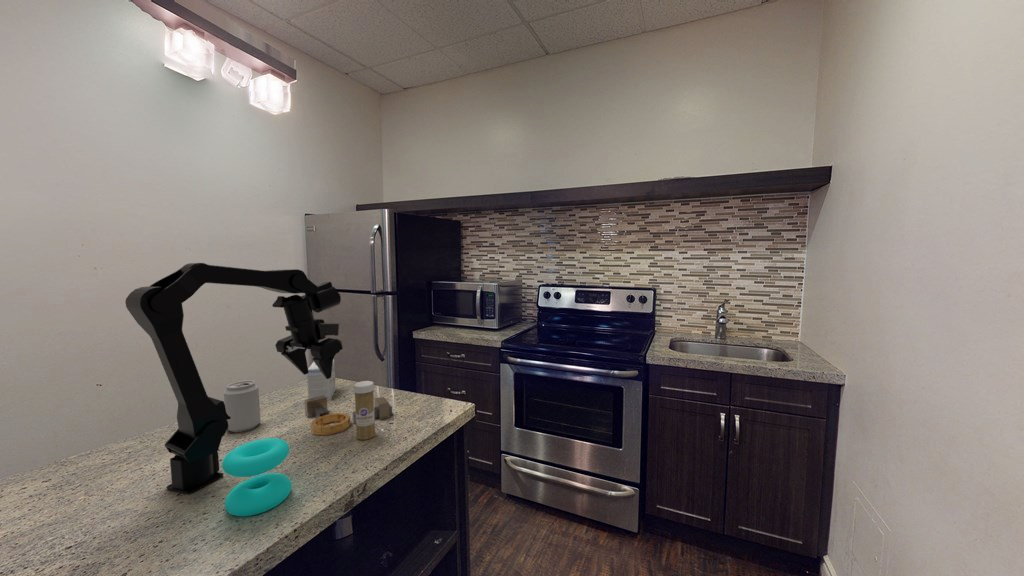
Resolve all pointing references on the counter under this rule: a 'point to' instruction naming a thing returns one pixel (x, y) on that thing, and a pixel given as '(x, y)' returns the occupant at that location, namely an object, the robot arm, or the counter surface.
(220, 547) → the counter surface
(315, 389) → the light bulb box
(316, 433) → the coupling jig
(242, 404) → the can
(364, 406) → the sprinkles bottle
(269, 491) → the donuts
